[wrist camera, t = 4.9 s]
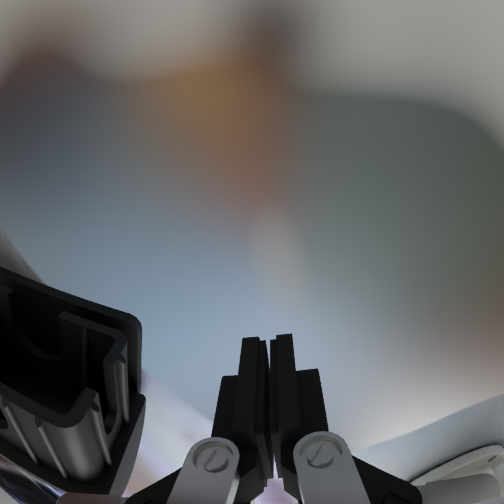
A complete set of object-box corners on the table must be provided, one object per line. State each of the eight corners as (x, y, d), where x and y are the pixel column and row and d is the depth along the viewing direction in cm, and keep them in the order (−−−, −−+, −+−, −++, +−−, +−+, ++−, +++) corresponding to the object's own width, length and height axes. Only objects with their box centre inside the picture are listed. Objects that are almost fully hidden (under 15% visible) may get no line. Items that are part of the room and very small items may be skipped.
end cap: (8, 361, 14) (-49, 430, 7) (-15, 258, 11) (-105, 322, 5) (150, 422, 14) (114, 527, 8) (155, 318, 12) (81, 460, 5)
